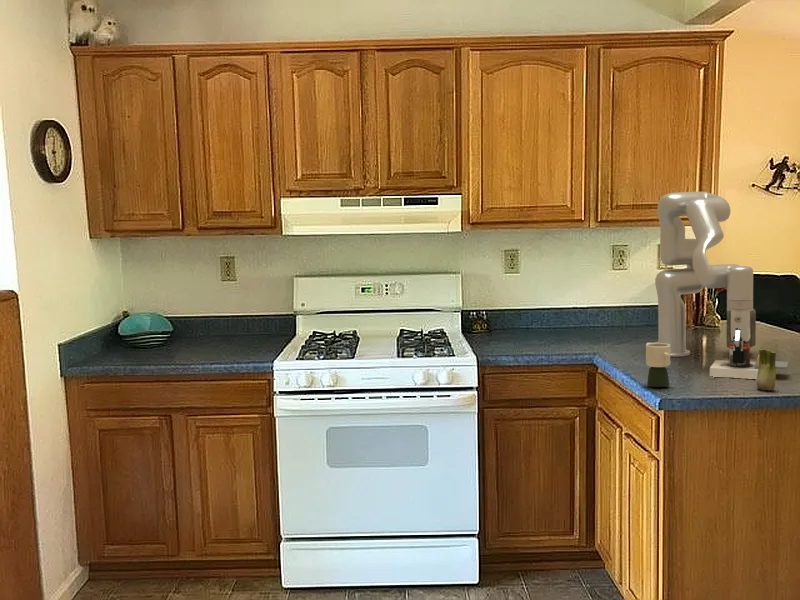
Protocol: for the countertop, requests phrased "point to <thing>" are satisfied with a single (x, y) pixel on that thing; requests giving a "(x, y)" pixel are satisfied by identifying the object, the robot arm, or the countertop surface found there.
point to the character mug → (658, 364)
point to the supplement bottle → (746, 355)
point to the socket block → (732, 370)
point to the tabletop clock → (752, 328)
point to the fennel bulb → (766, 370)
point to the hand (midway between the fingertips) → (739, 360)
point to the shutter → (777, 363)
